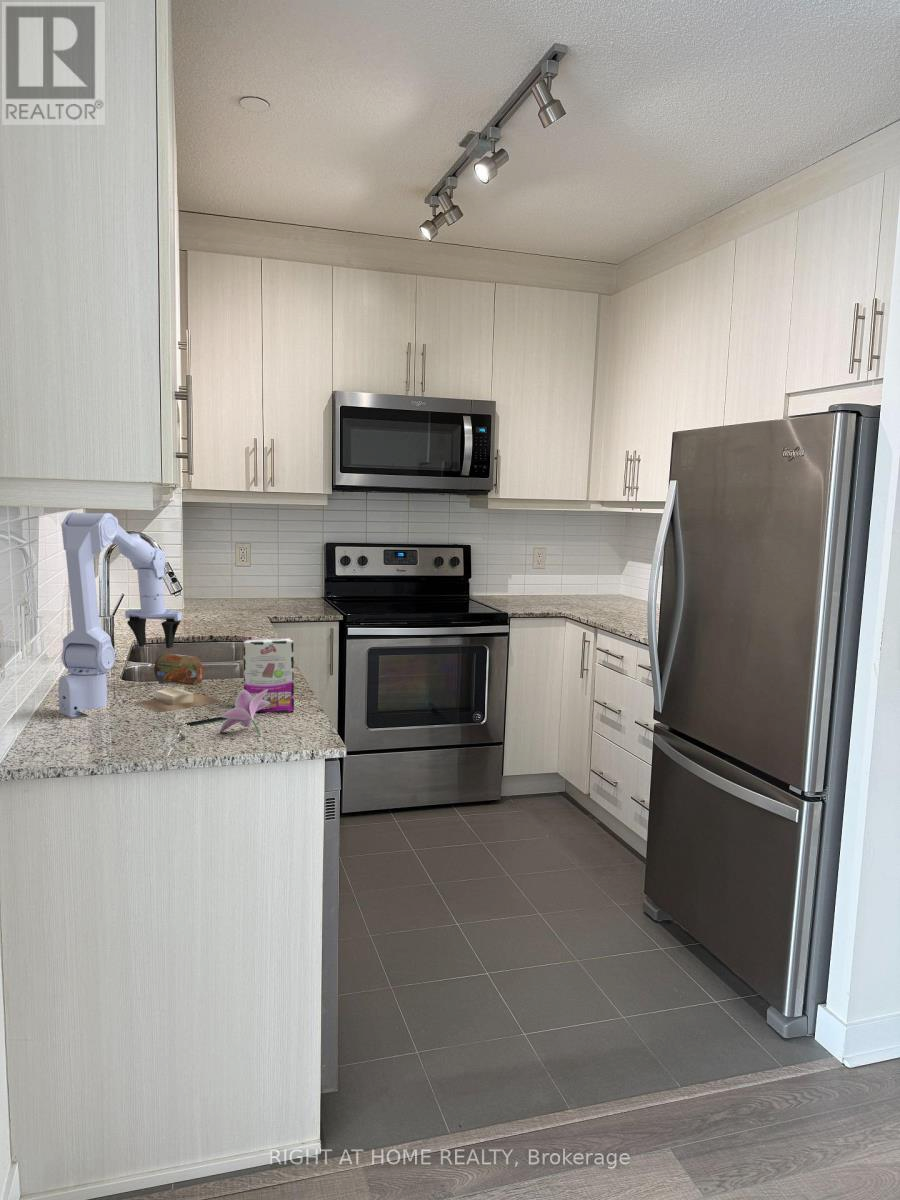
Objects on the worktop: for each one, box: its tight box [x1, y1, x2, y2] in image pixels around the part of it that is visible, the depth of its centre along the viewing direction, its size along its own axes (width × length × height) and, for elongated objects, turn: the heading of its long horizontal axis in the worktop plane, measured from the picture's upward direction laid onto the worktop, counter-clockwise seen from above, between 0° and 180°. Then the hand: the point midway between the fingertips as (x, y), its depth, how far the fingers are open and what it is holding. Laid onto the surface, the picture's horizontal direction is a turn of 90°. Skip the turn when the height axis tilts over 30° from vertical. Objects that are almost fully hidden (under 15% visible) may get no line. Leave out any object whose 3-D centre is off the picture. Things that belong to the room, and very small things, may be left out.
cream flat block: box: [155, 687, 194, 705], centre depth 191 cm, size 5×8×2 cm, turn 46°
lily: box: [219, 688, 270, 736], centre depth 170 cm, size 12×12×10 cm
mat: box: [184, 716, 228, 727], centre depth 182 cm, size 12×11×1 cm
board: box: [133, 692, 225, 713], centre depth 190 cm, size 16×12×2 cm
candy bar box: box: [242, 637, 295, 714], centre depth 189 cm, size 11×5×16 cm, turn 105°
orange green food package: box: [153, 653, 204, 686], centre depth 213 cm, size 15×3×8 cm, turn 62°
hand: (156, 646), depth 212 cm, fingers open, 7 cm apart
